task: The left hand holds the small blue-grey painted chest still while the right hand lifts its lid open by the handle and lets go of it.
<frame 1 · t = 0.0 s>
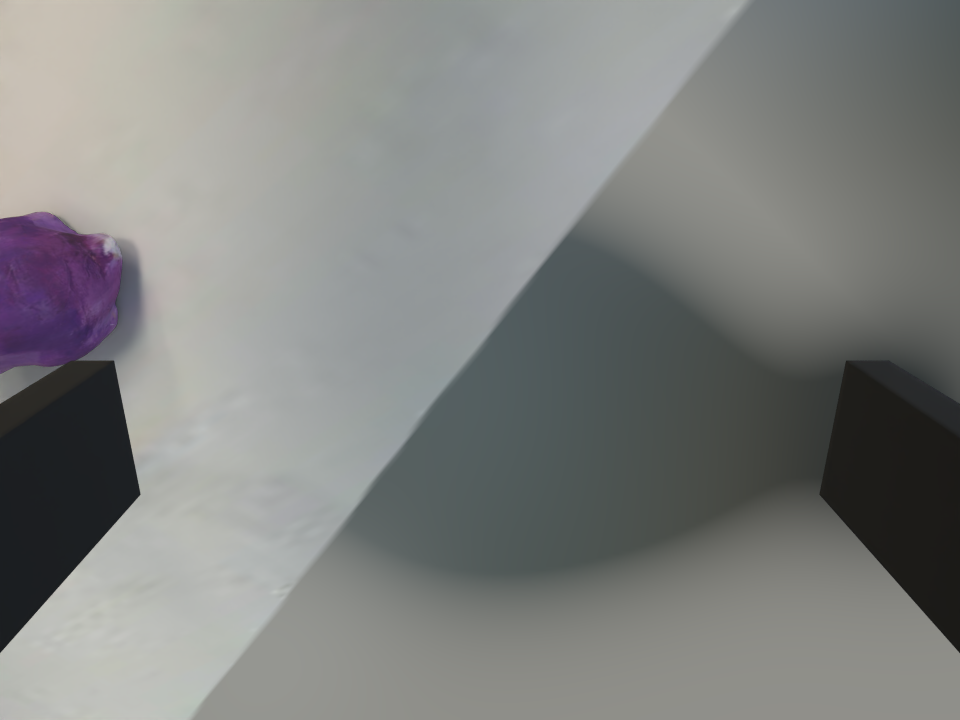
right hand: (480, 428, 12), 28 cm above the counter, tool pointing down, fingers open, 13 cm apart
figurine: (55, 294, 40), on the counter
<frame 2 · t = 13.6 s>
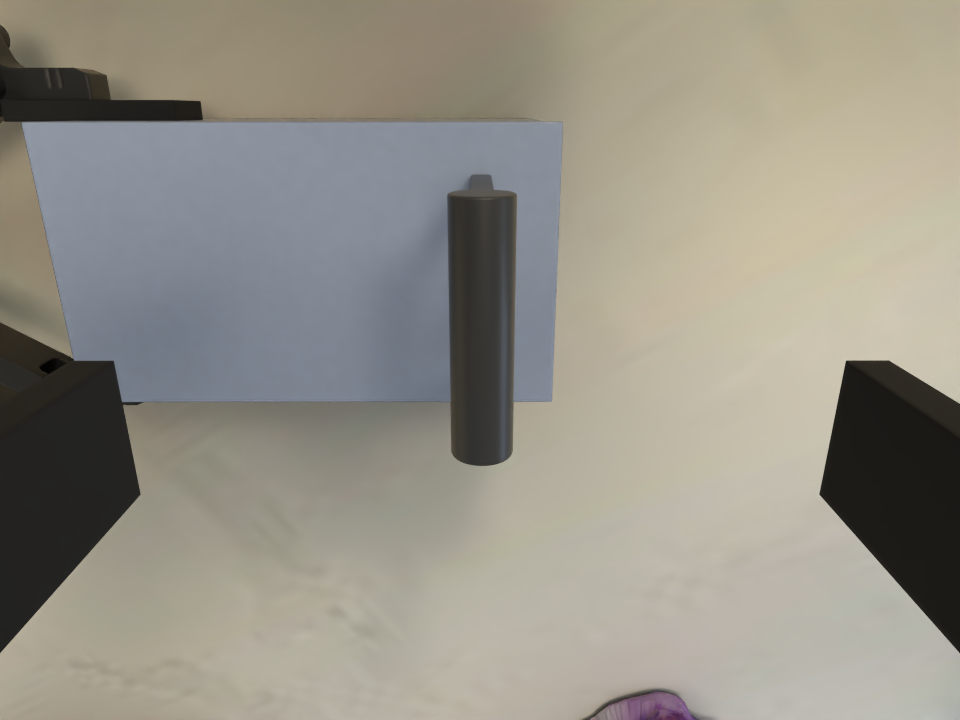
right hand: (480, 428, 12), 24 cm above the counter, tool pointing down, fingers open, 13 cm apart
chest: (354, 223, 35), on the counter, touching left hand
lid: (280, 295, 21), point 15 cm above the counter, hinge at 0.0°
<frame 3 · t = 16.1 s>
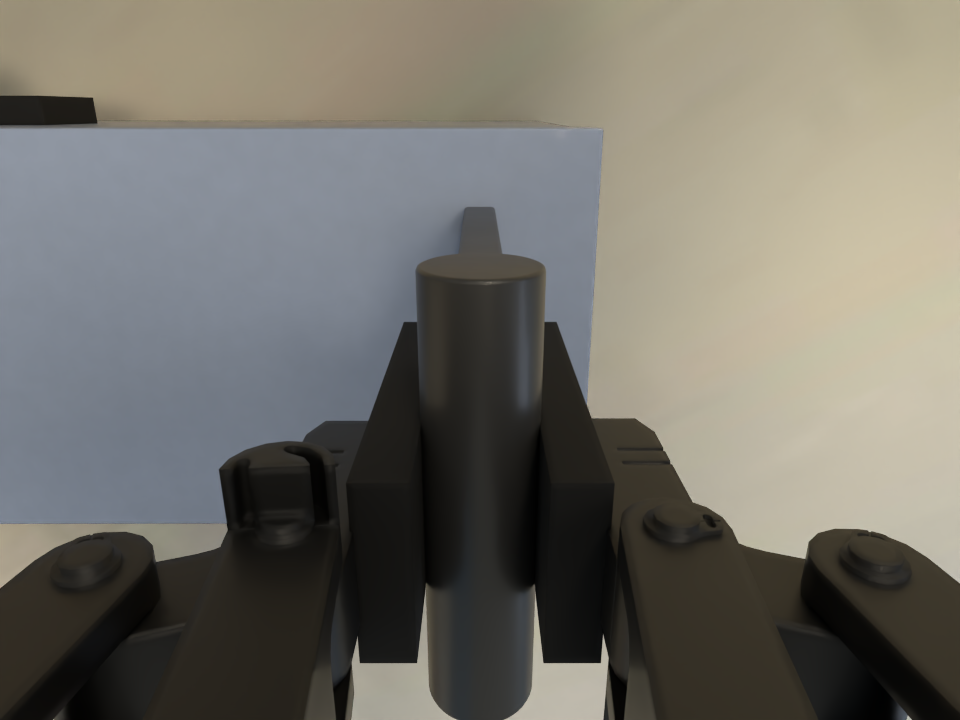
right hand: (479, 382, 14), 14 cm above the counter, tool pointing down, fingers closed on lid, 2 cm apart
chest: (316, 254, 27), on the counter, touching left hand
lid: (165, 400, 14), point 15 cm above the counter, hinge at 0.2°, touching right hand
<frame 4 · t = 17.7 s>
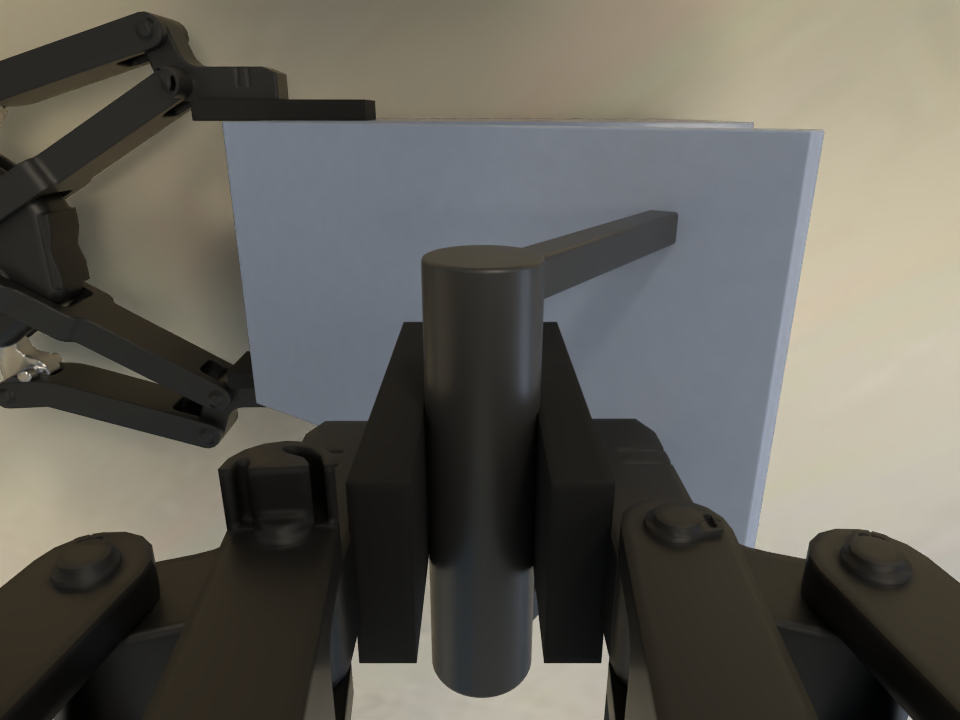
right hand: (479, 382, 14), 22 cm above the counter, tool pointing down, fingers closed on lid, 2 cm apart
left hand: (377, 248, 28), fingers closed on chest, 10 cm apart
chest: (496, 224, 35), on the counter, touching left hand
lid: (357, 343, 17), point 19 cm above the counter, hinge at 33.7°, touching right hand
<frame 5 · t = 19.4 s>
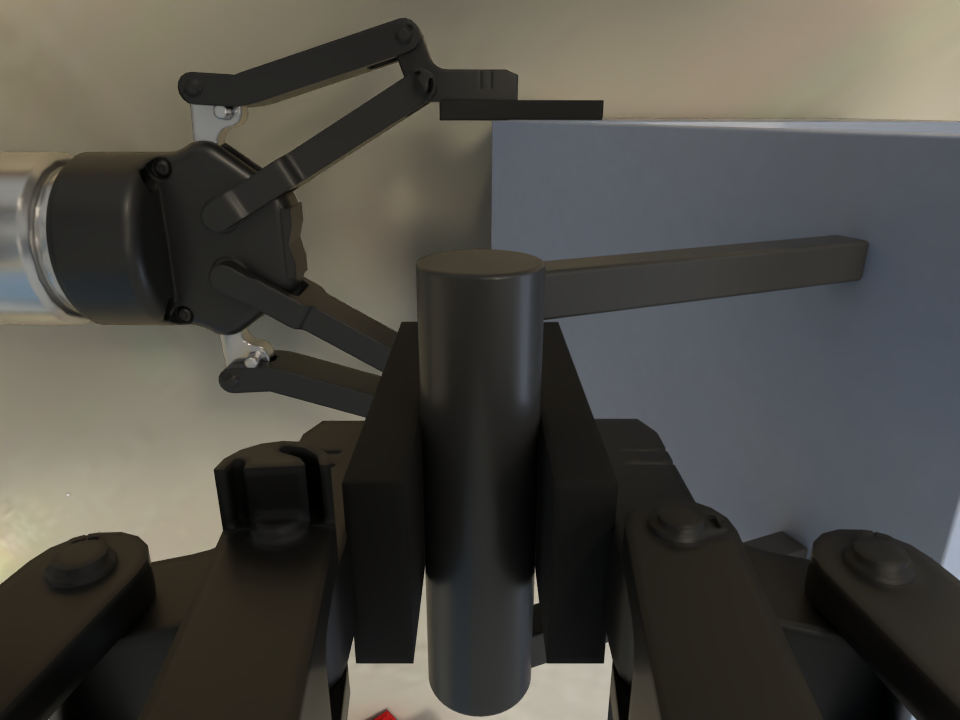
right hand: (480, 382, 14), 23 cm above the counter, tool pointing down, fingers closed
left hand: (590, 240, 30), fingers closed on chest, 10 cm apart
chest: (668, 219, 36), on the counter, touching left hand
lid: (516, 340, 17), point 21 cm above the counter, hinge at 65.6°
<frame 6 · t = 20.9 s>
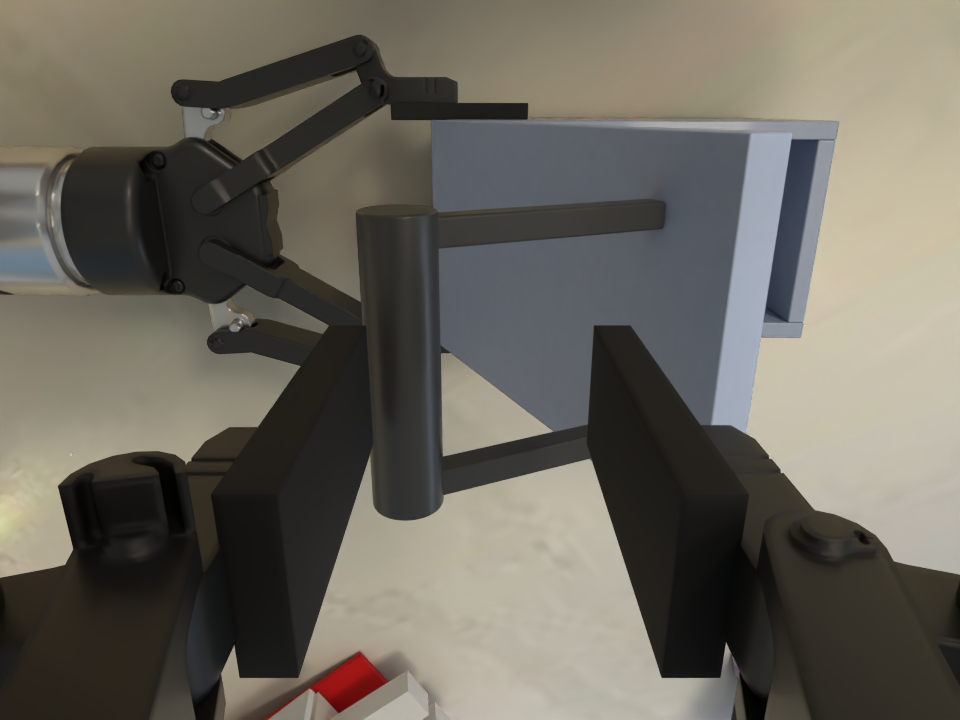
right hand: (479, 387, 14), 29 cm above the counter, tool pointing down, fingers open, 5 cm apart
left hand: (523, 222, 35), fingers closed on chest, 10 cm apart
chest: (600, 206, 41), on the counter, touching left hand
lid: (444, 288, 22), point 21 cm above the counter, hinge at 63.3°
when the left hand's fingers open (7 cm above the counter, at t = 23.4 s): chest stays where it is, on the counter.
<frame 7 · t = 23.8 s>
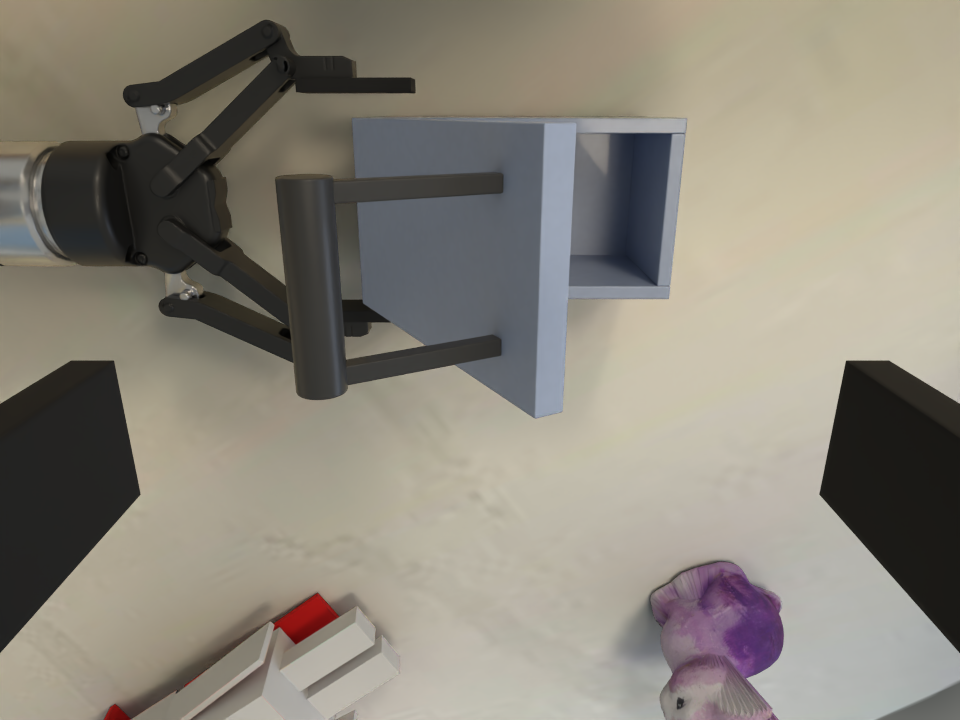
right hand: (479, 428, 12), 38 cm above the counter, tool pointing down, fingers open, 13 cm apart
left hand: (417, 204, 42), fingers open, 13 cm apart
chest: (515, 192, 48), on the counter
toy: (252, 674, 63), on the counter
figurine: (700, 601, 60), on the counter
lid: (356, 247, 29), point 21 cm above the counter, hinge at 60.8°
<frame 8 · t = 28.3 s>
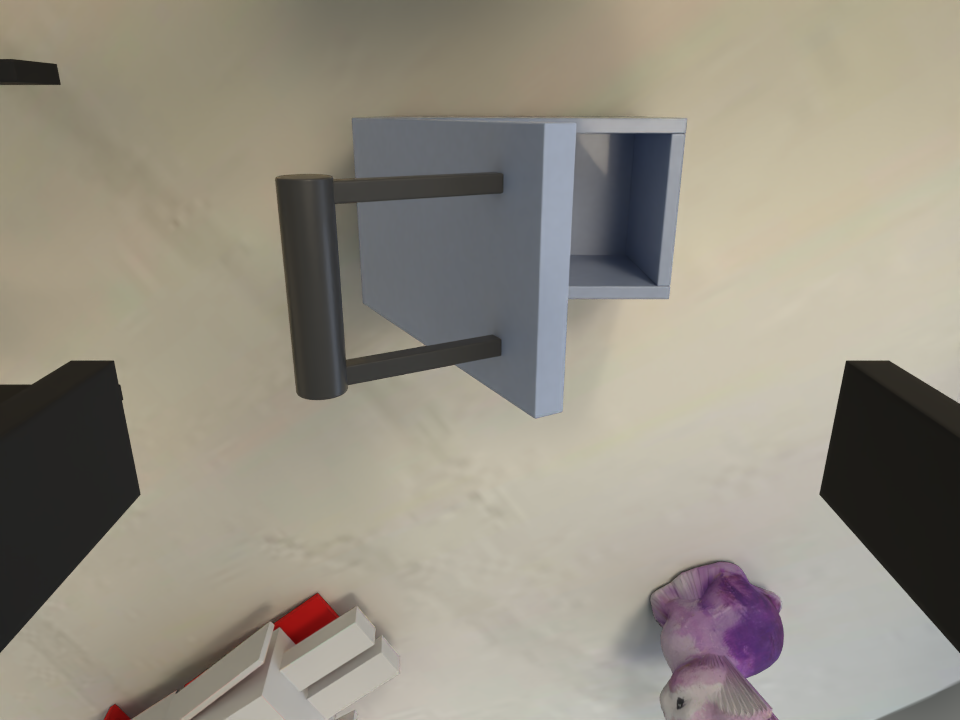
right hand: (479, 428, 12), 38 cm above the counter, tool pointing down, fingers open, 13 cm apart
chest: (515, 192, 48), on the counter
toy: (252, 674, 63), on the counter
figurine: (700, 601, 60), on the counter
lid: (356, 247, 29), point 21 cm above the counter, hinge at 60.8°
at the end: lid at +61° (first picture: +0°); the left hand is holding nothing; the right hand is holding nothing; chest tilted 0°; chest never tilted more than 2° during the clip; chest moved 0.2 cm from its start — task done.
